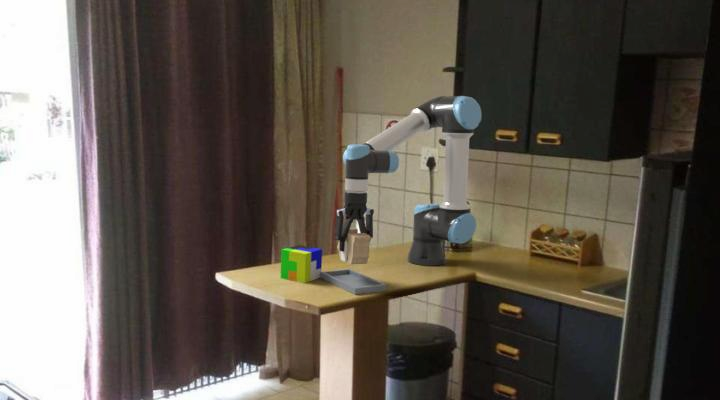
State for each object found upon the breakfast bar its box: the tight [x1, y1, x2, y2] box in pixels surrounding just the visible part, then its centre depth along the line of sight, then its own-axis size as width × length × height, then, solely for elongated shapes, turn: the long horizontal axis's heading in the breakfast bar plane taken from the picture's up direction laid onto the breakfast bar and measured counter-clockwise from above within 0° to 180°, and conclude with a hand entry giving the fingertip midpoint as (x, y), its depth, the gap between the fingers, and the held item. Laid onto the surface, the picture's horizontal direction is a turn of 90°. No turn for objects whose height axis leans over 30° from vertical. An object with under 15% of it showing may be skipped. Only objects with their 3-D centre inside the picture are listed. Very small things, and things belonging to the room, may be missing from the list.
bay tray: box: [319, 268, 387, 295], centre depth 213 cm, size 23×12×2 cm, turn 32°
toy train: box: [336, 227, 372, 265], centre depth 212 cm, size 6×17×10 cm, turn 20°
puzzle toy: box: [280, 244, 323, 284], centre depth 218 cm, size 10×10×10 cm
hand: (352, 259), depth 212 cm, fingers closed on toy train, 6 cm apart
